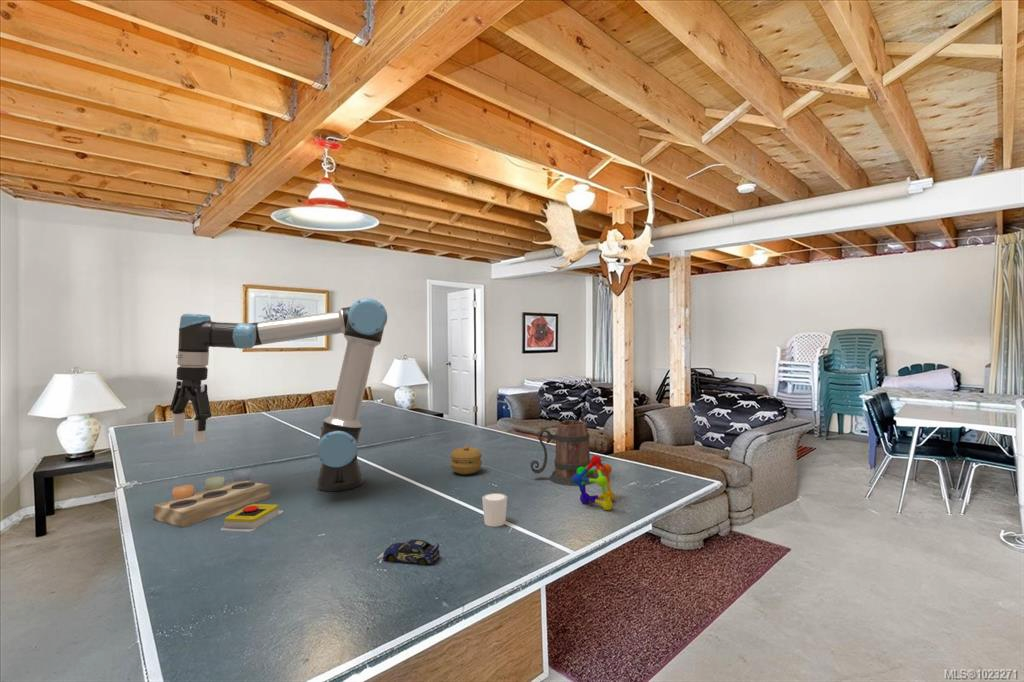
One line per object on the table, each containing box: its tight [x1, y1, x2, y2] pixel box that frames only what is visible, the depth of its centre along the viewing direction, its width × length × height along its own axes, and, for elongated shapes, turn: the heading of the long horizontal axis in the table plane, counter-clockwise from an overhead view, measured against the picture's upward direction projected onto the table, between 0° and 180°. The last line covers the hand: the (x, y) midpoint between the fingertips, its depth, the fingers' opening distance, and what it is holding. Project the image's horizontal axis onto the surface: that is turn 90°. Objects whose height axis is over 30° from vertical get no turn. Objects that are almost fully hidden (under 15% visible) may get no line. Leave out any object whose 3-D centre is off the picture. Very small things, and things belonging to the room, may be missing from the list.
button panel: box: [153, 480, 271, 528], centre depth 142 cm, size 14×26×4 cm, turn 154°
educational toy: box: [573, 455, 615, 511], centre depth 140 cm, size 16×13×15 cm
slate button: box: [233, 468, 253, 482], centre depth 150 cm, size 5×5×3 cm
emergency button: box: [220, 503, 284, 533], centre depth 131 cm, size 9×4×15 cm
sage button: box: [204, 475, 226, 490], centre depth 142 cm, size 5×5×3 cm
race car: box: [376, 539, 441, 566], centre depth 107 cm, size 15×7×4 cm, turn 84°
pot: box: [450, 445, 483, 475], centre depth 176 cm, size 12×12×10 cm
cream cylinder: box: [481, 492, 508, 528], centre depth 127 cm, size 7×7×7 cm
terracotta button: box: [171, 484, 195, 500], centre depth 133 cm, size 5×5×3 cm
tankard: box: [529, 419, 598, 487], centre depth 166 cm, size 24×17×20 cm
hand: (188, 438), depth 137 cm, fingers open, 13 cm apart
